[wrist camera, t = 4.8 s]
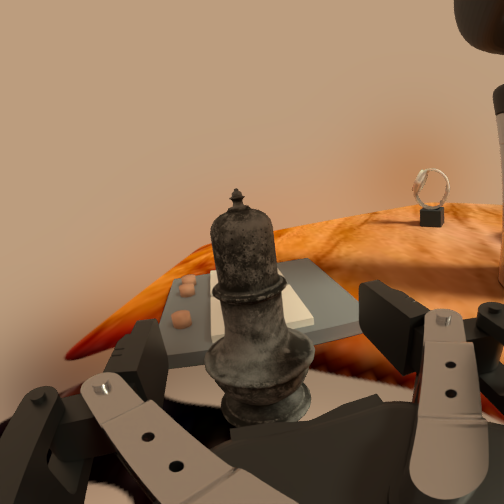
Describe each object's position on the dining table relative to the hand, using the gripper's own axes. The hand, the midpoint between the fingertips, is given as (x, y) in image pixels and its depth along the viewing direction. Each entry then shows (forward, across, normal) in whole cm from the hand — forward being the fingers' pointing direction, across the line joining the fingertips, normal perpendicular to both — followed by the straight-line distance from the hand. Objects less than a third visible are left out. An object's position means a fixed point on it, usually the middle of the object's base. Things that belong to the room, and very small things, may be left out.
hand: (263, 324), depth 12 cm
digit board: (+18, -1, +7) cm, 19 cm away
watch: (+38, -40, +7) cm, 56 cm away
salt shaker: (+4, 0, +7) cm, 8 cm away
